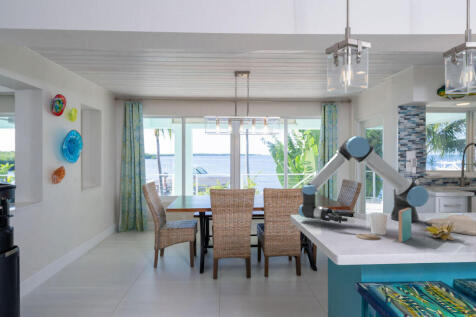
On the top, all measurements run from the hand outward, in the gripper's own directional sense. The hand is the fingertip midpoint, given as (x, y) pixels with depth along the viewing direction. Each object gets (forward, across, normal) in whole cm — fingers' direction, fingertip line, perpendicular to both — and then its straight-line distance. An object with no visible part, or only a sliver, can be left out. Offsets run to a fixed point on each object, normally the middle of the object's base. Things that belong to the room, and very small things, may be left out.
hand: (359, 218), depth 165 cm
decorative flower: (+33, -12, -6) cm, 36 cm away
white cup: (+10, 0, -6) cm, 11 cm away
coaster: (+10, +12, -6) cm, 16 cm away
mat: (+29, +4, -6) cm, 30 cm away
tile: (+24, +5, -6) cm, 25 cm away
